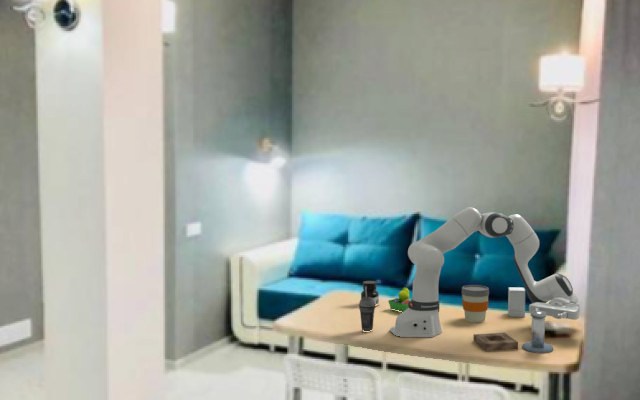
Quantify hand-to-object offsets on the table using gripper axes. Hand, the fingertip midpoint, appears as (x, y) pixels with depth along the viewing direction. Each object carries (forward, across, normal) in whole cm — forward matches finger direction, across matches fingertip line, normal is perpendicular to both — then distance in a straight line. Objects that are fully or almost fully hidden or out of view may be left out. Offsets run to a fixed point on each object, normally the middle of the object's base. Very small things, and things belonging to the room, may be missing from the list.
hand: (547, 314), depth 293 cm
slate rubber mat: (+12, 0, +11) cm, 16 cm away
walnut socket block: (+18, -15, +11) cm, 26 cm away
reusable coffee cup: (-14, -39, +12) cm, 43 cm away
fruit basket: (-9, -75, +12) cm, 76 cm away
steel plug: (+12, 0, +10) cm, 16 cm away
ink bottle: (-10, -94, +12) cm, 95 cm away
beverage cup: (+30, -70, +12) cm, 77 cm away
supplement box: (-33, -26, +11) cm, 43 cm away
